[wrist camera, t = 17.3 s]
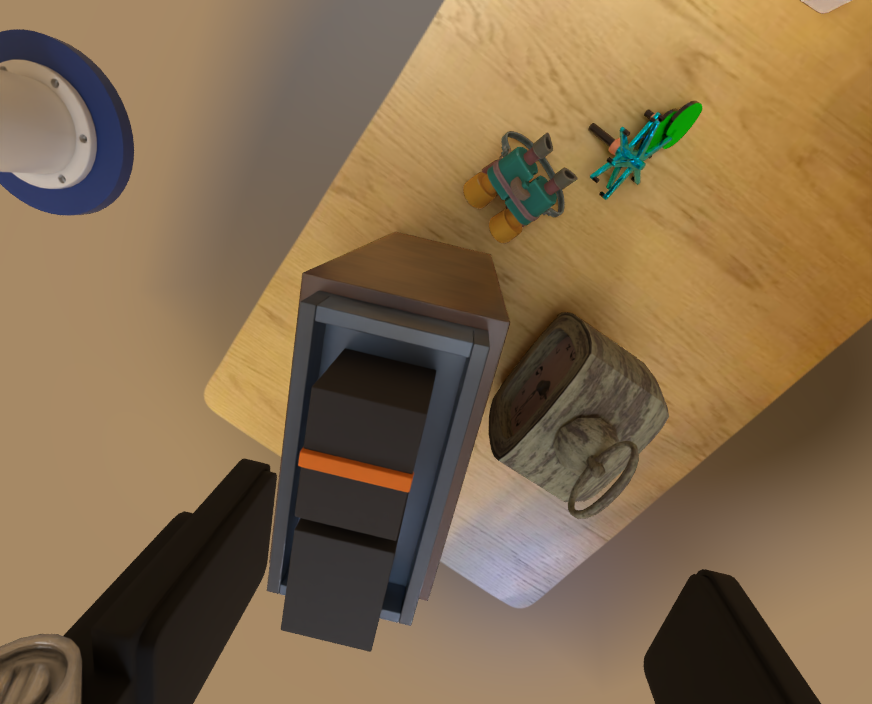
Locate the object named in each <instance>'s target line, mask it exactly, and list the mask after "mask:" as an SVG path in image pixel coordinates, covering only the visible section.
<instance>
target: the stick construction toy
mask: <svg viewBox="0 0 872 704" xmlns="http://www.w3.org/2000/svg"><path fill="white" fill-rule="evenodd" d="M701 111H702V105H701V104H700V103H699V102H697V101H691V102H689V103H687V104H686V105H684V106H683V107H682V108H680V109H679V110H677V109H672V110H670V111H668V112H666V113H665V114H664V115H662V114H660V113H659V112H657V113H653V112H652V111H650V110H647V111H646V112H645V114H644V116H645V117H647V118H648V119H649V122H648V123H647V124H646V125H645V126H644V128H643V129H642V130H641V131H640V132H639V133H638V134H637V136H636V137H635V138H634V139H633V140H632V141H631V142H630V144H629V145H628V140H627V136H629V135H630V132H629V131H628V130H627V129H625V128H624V127H621V128H620V138H618V139H616V140H615V139H614V138H613V137H611V136H610V135H609V134H607V133H606V132H605V131H604V130H602V129H601V128H600V127H599V126H597V125H596V124H595V123H592V124H591V125H590V126H589V131H590V132H591V133H593V134H594V135H595V136H596V137H598V138H599V139H600V140H601V141H603V142H604V143H605V144H606V145H608V146H609V152H610V153H612V154H613V155H614V156H615V157H614V158H613V159H611V158H610V157H609V158H608V159H607V163H606V164H605V165H603V166H602V167H601V168H599V169H598V170H597V171H595V172H594V173H593V174H591V175H590V178H591V179H592V180H593V181H595V182H596V183H598V182H599V179H598V178H597V176H599V175H600V174H602V173H603V172H605V171H606V170H608V169H609V168H611V167H612V166H613V167H615V168H614V171H613V173H612V175H611V177H610V179H609V182H608V184H607V186H606V188H607V189H608V190H609V191H608V192H607V193H606V194H605V193H604V192H600V193H599V195H600V196H601V197H603V198H604V199H605V200H607V199H608V198H609V197H610V196H611V195H612V193H613V192H614V191H615V190H616V189H617V188H618V187H619V186H620V185H621V184H622V182H623V181H624V180H625V179H626V178H627V177H628V176H629V175H630V174H631V173H632V171H633V174H634V176H633V177H632V178H631V180H632V181H633V182H635V183H636V184H637V185H638V184H639V183H640V173H641V170H642V169H643V168H644V167H645V163H644V162H643V161H645V160H646V159H647V158H651V157H652V155H653V154H654V153H655V152H657V151H658V150H659V149H661V148H663V149H667V148H669V147H671V146H673V145H674V144H675V143H676V142H678V141H679V140H680V139H681V138H682V137H683V136H684V135H685V134H686V133H687V131H688V130H689V129H690V128H691V127H692V125H693V124H694V123H695V121H696V120H697V118H698V117H699V115H700V113H701ZM652 125H653V126H652ZM649 129H650V130H649ZM648 130H649V131H648ZM647 131H648V132H647ZM646 133H647V134H646ZM645 134H646V135H645ZM644 135H645V137H644V138H643V136H644ZM642 138H643V140H642V142H641V144H640V146H639V148H638V150H637V149H634V147H635V146H636V145H637V144H638V142H639V141H640V140H641V139H642ZM622 167H628V168H627V169H626V170H625V172H624V173H623V174H622V175H621V176H620V177H619V179H618V180H617V181H616V182H615V183H614V181H615V179H616V177H617V175H618V173H619V171H620V170H621V168H622ZM613 183H614V185H613ZM612 185H613V186H612Z"/></svg>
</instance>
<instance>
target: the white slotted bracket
mask: <svg viewBox="0 0 872 704" xmlns="http://www.w3.org/2000/svg"><path fill="white" fill-rule="evenodd" d="M801 1H802V2H804V3H805V4H807V5H808V6H810V7H811V8H813V9H814V10H816V11H817V12H819V13H828V12H830V11H832V10H834V9H836V8H838V7H840V6H842V5H844V4H846V3H848V2H849V1H851V0H801Z"/></svg>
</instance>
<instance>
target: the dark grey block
mask: <svg viewBox="0 0 872 704" xmlns="http://www.w3.org/2000/svg"><path fill="white" fill-rule="evenodd" d="M408 494H409V492H408ZM407 498H408V495H407ZM406 503H407V500H406ZM405 507H406V504H405ZM404 512H405V508H404ZM404 512H403V516H404ZM403 516H402V520H401V524H400V528H399V532H398V536H397V540H396V541H394V540H390V539H386V538H382V537H378V536H373V535H369V534H365V533H361V532H357V531H353V530H349V529H344V528H340V527H336V526H332V525H328V524H324V523H320V522H315V521H311V520H307V519H303V518H300V520H299V522H298V524H297V526H296V528H295V529H294V536H293V544H292V551H291V558H290V566H289V573H288V580H287V588H286V595H285V603H284V610H283V618H282V624H281V630H283V631H287V632H291V633H295V634H300V635H303V636H308V637H312V638H316V639H320V640H324V641H329V642H332V643H337V644H341V645H345V646H349V647H353V648H357V649H362V650H366V651H371V650H372V646H373V642H374V638H375V634H376V630H377V626H378V622H379V618H380V614H381V610H382V605H383V601H384V597H385V593H386V589H387V585H388V581H389V577H390V573H391V569H392V565H393V561H394V557H395V552H396V548H397V543H398V539H399V534H400V530H401V525H402V521H403Z"/></svg>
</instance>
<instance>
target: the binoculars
mask: <svg viewBox="0 0 872 704" xmlns="http://www.w3.org/2000/svg"><path fill="white" fill-rule="evenodd" d="M507 137H510V138H514V139H516V140H518V141H520V142H522V143H523V144H524V145H525V146H526V147H527V148H528V149H529V150H528V151H527V150H526V149H525V148H523V147H517V148H516V149H514V150H513V151H512V152H511V149H510V146H509V143H508V138H507ZM502 150H503V151H502V152H501V156H500V158H499V160H495V161H494V162H492V163H491V164H489V165H488V166H486V167H484V168H483V169H482V172H479V173H478V174H477V175H475V176H474V177H473V178H471V179H470V180H469V181H467V182H466V183H465V185H464V189H463V191H464V196H465V198H466V200H467V202H468V203H469V204H470V205H471V206H473V207H475V208H483V207H485V206H486V205H487V204H488V203H489V202H490V201H492V200H493V199H494V198H495V197H496V196H497V194H498V195H499V196H500V198H501V199H502V200H505V205H506V209H505V210H503V211H501V212H500V213H498V214H497V215H495V216H493V217H492V218H491V220H490V223H489V228H490V232H491V234H492V236H493V237H494V238H495V239H496V240H497V241H498V242H500V243H507V242H509V241H510V240H512V239H513V238H514V237H516V236H517V235H518V234H520V233H521V232H522V227H524V226H525V225H528V224H529V223H531V222H532V221H535V220H536V219H537V218H539V216H540V215H541V214H543V215H545V214H547V215H548V216H549V215H550V216H552V217H558V216H559V215H561V214H562V213H563V212H564V195H563V191H562V189H564V188H566V187H567V186H568V185H570V184H571V183H573V182H574V181H576V180H577V179H578V178H577V176H576V175H575V174H574V173H572V172H571V171H570V170H568V169H567V168H563V169H561V170H560V171H559V172H557V173H556V174H555V173H554V171H553V169H552V167H551V166H550V164H549V163H548V161H547V160H546V158H545V156H547V155H548V154H549V153H551V152H552V151H553V146H552V142H551V138H550V135H549V133H546V134H545V135H543V136H542V137H541V138H540V139H539V140H537V141H536V142H535V143H534V144H533V143H532V142H531V141H530V140H529V139H528V138H527V137H525V136H523V135H522V134H519V133H517V132H513V131H509V132H507V133H506V134H505V135H504V136H503V137H502ZM502 157H503V158H502ZM501 158H502V159H501ZM537 160H539V162H540V163H541V164H542V166H543V167H544V169H545V170H546V172H547V174H548V176H549V177H550V179H551V180H549V181H547V179H546V178H545V177H543V176H538V177H537V178H536V179H534V180H533V181H532V182H530V183H529V181H530V180H531V179H532V178H533V177H534V175H535V174H536V173H537V172H538V168H537V165H536V163H535V162H536V161H537ZM555 192H556V193H557V196H556V193H555ZM557 198H558V212H556V211H555V210H553V209H552V208H550V207H551V206H553V205H554V204H555V203H556V199H557Z"/></svg>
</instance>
